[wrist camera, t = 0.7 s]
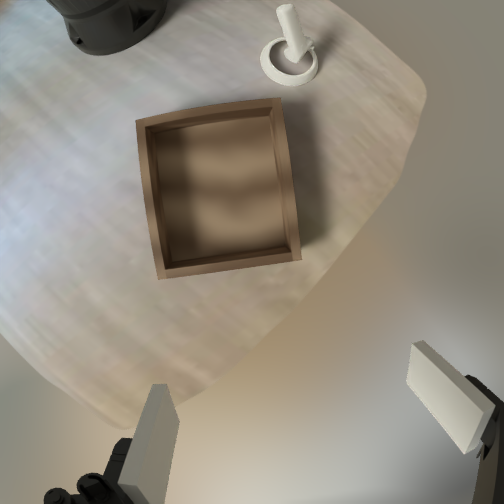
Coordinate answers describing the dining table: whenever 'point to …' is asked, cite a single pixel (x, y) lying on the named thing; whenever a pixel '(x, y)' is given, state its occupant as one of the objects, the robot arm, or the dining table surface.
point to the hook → (290, 49)
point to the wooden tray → (218, 188)
